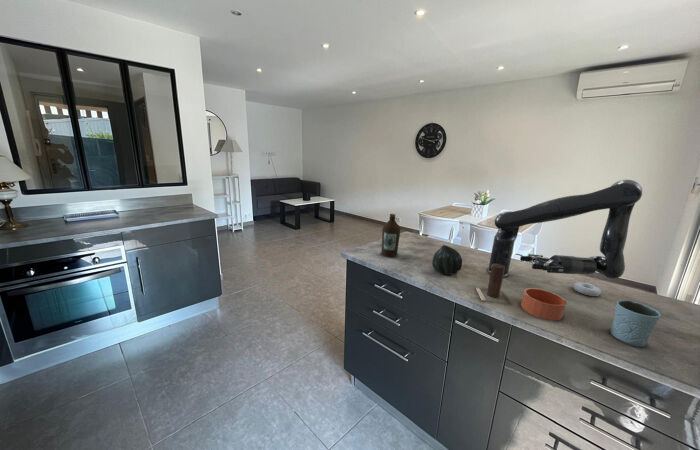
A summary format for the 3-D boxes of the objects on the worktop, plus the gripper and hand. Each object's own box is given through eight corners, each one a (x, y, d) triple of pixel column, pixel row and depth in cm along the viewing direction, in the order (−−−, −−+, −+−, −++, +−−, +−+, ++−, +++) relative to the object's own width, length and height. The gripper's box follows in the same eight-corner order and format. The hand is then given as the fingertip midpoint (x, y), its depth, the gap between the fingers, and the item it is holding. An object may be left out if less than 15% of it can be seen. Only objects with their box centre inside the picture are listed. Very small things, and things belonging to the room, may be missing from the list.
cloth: (475, 288, 122) (476, 287, 122) (501, 292, 119) (502, 291, 119) (481, 300, 111) (481, 299, 111) (510, 304, 109) (510, 303, 109)
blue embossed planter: (636, 333, 93) (647, 303, 90) (657, 352, 84) (670, 319, 81) (601, 326, 97) (610, 297, 94) (617, 344, 87) (628, 312, 84)
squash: (473, 267, 132) (459, 240, 138) (450, 272, 126) (437, 244, 131) (454, 275, 144) (443, 250, 149) (433, 281, 137) (422, 254, 143)
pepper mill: (485, 292, 118) (490, 262, 114) (496, 293, 117) (502, 264, 113) (488, 297, 113) (494, 267, 110) (500, 299, 112) (506, 268, 109)
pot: (515, 299, 113) (518, 285, 112) (551, 304, 110) (555, 290, 109) (528, 317, 100) (532, 302, 99) (569, 323, 98) (574, 308, 96)
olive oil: (382, 250, 167) (385, 211, 160) (398, 252, 164) (402, 213, 158) (379, 256, 157) (382, 215, 150) (397, 258, 154) (401, 216, 148)
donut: (599, 292, 124) (571, 284, 130) (601, 285, 123) (573, 278, 129) (600, 300, 116) (571, 292, 122) (603, 293, 115) (574, 285, 121)
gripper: (556, 250, 116) (518, 248, 117) (582, 263, 103) (539, 260, 103) (552, 266, 118) (515, 263, 119) (577, 280, 104) (535, 277, 105)
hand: (526, 262), depth 111 cm, fingers open, 8 cm apart
